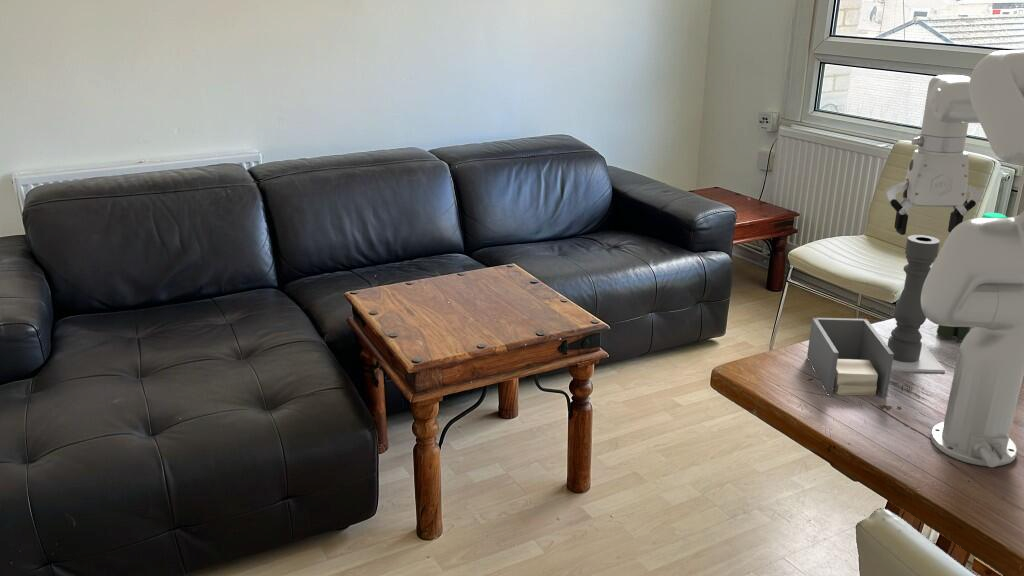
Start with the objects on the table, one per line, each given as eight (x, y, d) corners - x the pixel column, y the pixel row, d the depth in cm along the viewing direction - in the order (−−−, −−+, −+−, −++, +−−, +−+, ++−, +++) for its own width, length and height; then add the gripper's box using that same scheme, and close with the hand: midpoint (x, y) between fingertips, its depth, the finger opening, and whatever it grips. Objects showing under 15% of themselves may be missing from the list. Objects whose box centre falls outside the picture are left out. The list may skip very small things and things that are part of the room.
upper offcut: (876, 386, 151) (877, 374, 150) (836, 385, 152) (838, 373, 151) (867, 371, 157) (869, 360, 156) (829, 370, 158) (831, 358, 157)
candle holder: (924, 362, 163) (947, 244, 154) (893, 362, 163) (914, 244, 154) (911, 349, 169) (932, 234, 160) (881, 349, 169) (900, 234, 160)
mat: (944, 372, 160) (945, 369, 160) (881, 370, 162) (882, 368, 161) (922, 346, 172) (922, 343, 171) (863, 344, 173) (863, 342, 172)
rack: (886, 397, 152) (893, 354, 148) (827, 395, 153) (834, 352, 149) (860, 359, 166) (866, 318, 163) (807, 357, 167) (812, 317, 164)
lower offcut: (875, 397, 153) (877, 385, 152) (837, 396, 153) (838, 385, 152) (864, 382, 158) (866, 370, 157) (827, 381, 159) (829, 370, 158)
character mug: (925, 340, 174) (936, 284, 170) (922, 327, 180) (933, 272, 176) (982, 347, 171) (995, 290, 166) (978, 334, 177) (990, 278, 172)
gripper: (900, 147, 148) (886, 238, 153) (1000, 148, 146) (982, 239, 152) (886, 140, 155) (873, 227, 160) (981, 141, 153) (965, 228, 159)
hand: (926, 233), depth 156 cm, fingers open, 9 cm apart
